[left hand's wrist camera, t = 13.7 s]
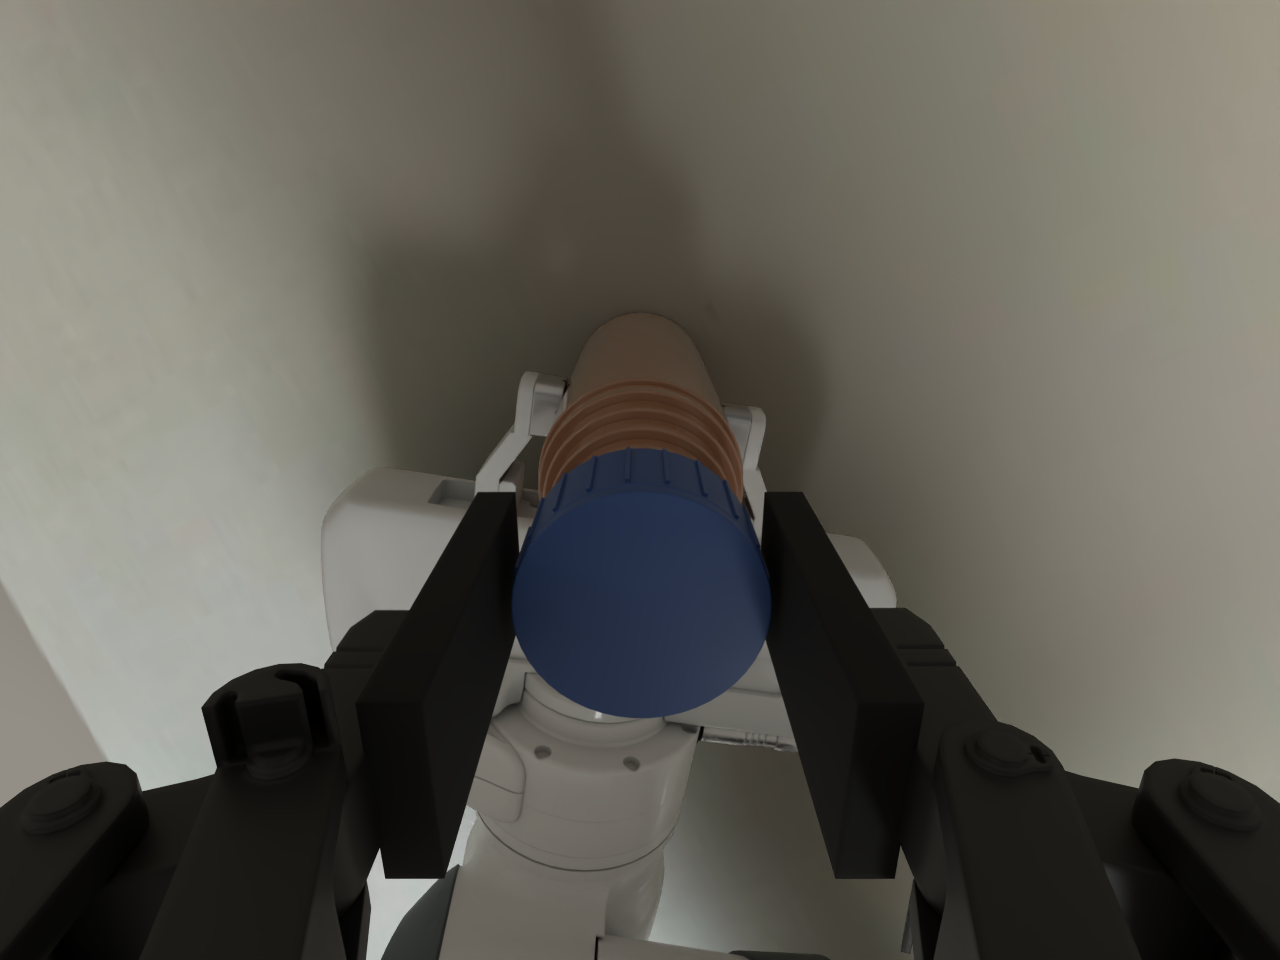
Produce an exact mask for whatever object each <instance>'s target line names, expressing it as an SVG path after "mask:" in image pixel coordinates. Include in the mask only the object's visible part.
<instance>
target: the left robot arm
mask: <svg viewBox="0 0 1280 960" xmlns="http://www.w3.org/2000/svg"><path fill="white" fill-rule="evenodd" d="M519 553H520V552H519V537H518V522H517V507H516V492H477V494H476V496H475V498H474V499H473V501H472V503H471V505H470V506H469V508H468V510H467V511H466V513H465V515H464V517H463V518H462V520H461V522H460V524H459V525H458V527H457V529H456V530H455V532H454V534H453V536H452V537H451V539H450V541H449V542H448V544H447V546H446V548H445V549H444V551H443V553H442V555H441V556H440V558H439V560H438V561H437V563H436V565H435V567H434V568H433V570H432V572H431V573H430V575H429V577H428V579H427V580H426V582H425V584H424V586H423V587H422V589H421V591H420V592H419V594H418V596H417V598H416V599H415V601H414V603H413V605H412V606H411V608H410V610H374V611H373V612H372V613H370V614H369V615H367V616H366V617H364V618H363V619H362V620H360V621H359V622H357V623H356V624H354V625H353V626H352V627H350V629H349V630H348V631H347V633H346V634H345V636H344V637H343V639H342V640H341V641H340V643H339V644H338V646H337V647H336V652H333V653H332V654H331V656H330V657H329V659H328V660H327V661H326V663H325V664H324V669H320V668H319V667H315V666H311V665H306V664H302V663H294V664H277V665H273V666H269V667H264V668H260V669H256V670H253V671H251V672H249V673H246V674H244V675H242V676H239V677H237V678H235V679H233V680H231V681H230V682H228V683H227V684H225V685H224V686H222V687H221V688H219V689H218V690H217V691H215V692H214V693H213V694H212V695H211V696H210V697H209V699H208V700H207V701H206V702H205V704H204V705H203V706H202V708H201V709H202V712H203V716H204V720H205V724H206V727H207V731H208V735H209V739H210V742H211V746H212V750H213V754H214V758H215V761H216V765H217V769H216V772H215V774H213V775H209V776H206V777H202V778H199V779H195V780H191V781H186V782H182V783H178V784H173V785H169V786H164V787H160V788H155V789H151V790H146V791H142V790H141V786H140V783H139V780H138V777H137V774H136V773H135V772H134V771H133V770H132V769H130V768H129V767H128V766H127V765H125V764H119V763H112V762H100V763H93V764H85V765H80V766H77V767H74V768H70V769H68V770H64V771H61V772H58V773H56V774H53V775H51V776H49V777H47V778H45V779H43V780H41V781H39V782H37V783H35V784H34V785H32V786H30V787H28V788H26V789H24V790H23V791H22V792H20V793H19V794H18V795H16V796H15V797H14V798H12V799H11V800H10V801H8V802H7V803H6V804H5V805H3V806H2V807H1V808H0V960H366V953H367V943H368V933H369V924H370V914H371V904H370V897H369V891H368V885H367V878H368V875H369V873H370V870H371V868H372V865H373V863H374V860H375V858H376V856H377V853H378V851H379V848H380V850H381V856H382V862H383V868H384V874H385V879H445V875H446V872H447V868H448V865H449V862H450V858H451V855H452V851H453V848H454V844H455V841H456V838H457V834H458V831H459V827H460V824H461V821H462V817H463V814H464V810H465V807H466V804H467V800H468V797H469V793H470V790H471V787H472V783H473V780H474V776H475V773H476V770H477V766H478V763H479V759H480V756H481V752H482V749H483V746H484V742H485V739H486V735H487V732H488V729H489V725H490V722H491V718H492V715H493V712H494V708H495V705H496V701H497V698H498V695H499V691H500V688H501V684H502V681H503V678H504V674H505V671H506V667H507V664H508V660H509V657H510V654H511V650H512V647H513V643H514V640H515V637H516V634H515V630H514V626H513V621H512V612H511V596H512V587H513V583H514V579H515V574H516V572H517V571H514V568H515V565H516V562H517V559H518V556H519ZM761 553H762V556H763V558H764V561H765V564H766V567H767V569H768V572H769V575H770V579H771V581H769V583H770V587H771V596H772V612H771V621H770V625H769V630H768V634H767V636H766V639H765V640H766V643H767V647H768V650H769V654H770V657H771V661H772V664H773V667H774V671H775V674H776V678H777V681H778V684H779V688H780V691H781V695H782V698H783V701H784V705H785V708H786V712H787V715H788V718H789V722H790V725H791V729H792V732H793V735H794V739H795V742H796V746H797V749H798V753H799V756H800V759H801V763H802V766H803V770H804V773H805V776H806V780H807V783H808V787H809V790H810V793H811V797H812V800H813V804H814V807H815V810H816V814H817V817H818V821H819V824H820V827H821V831H822V834H823V838H824V841H825V845H826V848H827V851H828V855H829V858H830V862H831V865H832V868H833V872H834V875H835V879H895V874H896V868H897V862H898V856H899V850H900V845H901V847H902V850H903V852H904V854H905V857H906V859H907V862H908V864H909V867H910V869H911V871H912V874H913V876H914V880H913V885H912V891H911V896H910V901H909V907H908V912H907V918H906V923H905V928H904V934H903V940H902V947H901V952H904V953H909V954H910V953H911V948H912V943H913V951H914V960H1280V803H1278V802H1277V801H1276V800H1274V799H1273V798H1272V797H1270V796H1269V795H1268V794H1266V793H1265V792H1264V791H1262V790H1261V789H1260V788H1259V787H1257V786H1256V785H1254V784H1252V783H1250V782H1248V781H1246V780H1244V779H1242V778H1240V777H1238V776H1236V775H1234V774H1232V773H1231V772H1229V771H1226V770H1223V769H1220V768H1218V767H1214V766H1211V765H1208V764H1204V763H1201V762H1196V761H1189V760H1181V759H1169V760H1162V761H1155V762H1154V763H1153V764H1152V765H1151V766H1149V767H1148V768H1147V769H1146V770H1145V771H1144V774H1143V777H1142V780H1141V783H1140V786H1139V789H1138V788H1134V787H1130V786H1125V785H1121V784H1116V783H1112V782H1107V781H1103V780H1098V779H1094V778H1089V777H1085V776H1081V775H1078V774H1074V773H1071V772H1067V771H1065V770H1064V768H1063V766H1062V764H1061V763H1060V761H1059V760H1058V759H1057V757H1056V756H1055V754H1054V753H1053V751H1052V750H1051V749H1049V748H1048V747H1047V746H1046V745H1044V744H1043V743H1042V742H1041V741H1039V740H1038V739H1037V738H1036V737H1034V736H1033V735H1030V734H1028V733H1026V732H1024V731H1022V730H1020V729H1018V728H1016V727H1014V726H1012V725H1009V724H1005V723H1001V722H998V721H997V720H996V718H995V717H994V715H993V714H992V712H991V711H990V710H989V708H988V707H987V705H986V704H985V703H984V701H983V700H982V698H981V697H980V695H979V694H978V693H977V691H976V690H975V688H974V687H973V685H972V684H971V683H970V681H969V680H968V678H967V677H966V675H965V674H964V673H963V671H962V670H961V668H960V667H959V666H956V661H955V660H954V658H953V657H952V656H951V654H950V653H949V651H948V650H947V649H944V644H943V643H942V641H941V640H940V638H939V637H938V636H937V634H936V633H935V631H934V630H933V629H932V627H931V626H930V625H929V624H928V623H926V622H925V621H923V620H922V619H921V618H919V617H918V616H916V615H915V614H913V613H912V612H911V611H909V610H908V609H906V608H869V606H868V605H867V603H866V601H865V599H864V598H863V596H862V594H861V592H860V591H859V589H858V587H857V586H856V584H855V582H854V580H853V579H852V577H851V575H850V574H849V572H848V570H847V568H846V567H845V565H844V563H843V561H842V560H841V558H840V556H839V555H838V553H837V551H836V549H835V548H834V546H833V544H832V542H831V541H830V539H829V537H828V536H827V534H826V532H825V530H824V529H823V527H822V525H821V524H820V522H819V520H818V518H817V517H816V515H815V513H814V511H813V510H812V508H811V506H810V505H809V503H808V501H807V499H806V498H805V496H804V494H803V493H802V492H764V507H763V522H762V537H761Z"/></svg>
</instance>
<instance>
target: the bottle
mask: <svg viewBox="0 0 1280 960" xmlns="http://www.w3.org/2000/svg"><path fill="white" fill-rule="evenodd" d="M626 447H631V449H633V448H650V449H658V450H662V449H663V448H664V449H667V451H669V452H673V453H677V454H680V455H683V456H685V457H688V458H690V459H693V460H695V461H696V460H699V461H701V464H702V465H704V466H706V467H707V468H708V469H710V470H711V471H712V472H714V473H715V474H717V475H718V476H719V477H720V478H721V479H722V480H723V481H724V480H725V479H726V480H727V481H728V483H729V486H730V488H731V490H732V491H733V492H734V494H735V495H736V496H737V498H738V499H739V501H740V503H742V498H743V464H742V457H741V453H740V449H739V446H738V443H737V441H736V438H735V435H734V433H733V431H732V428H731V426H730V424H729V421H728V419H727V417H726V414H725V412H724V410H723V407H722V405H721V403H720V400H719V398H718V396H717V393H716V391H715V389H714V386H713V384H712V381H711V379H710V377H709V374H708V372H707V370H706V367H705V365H704V363H703V360H702V358H701V356H700V353H699V351H698V349H697V347H696V345H695V343H694V341H693V340H692V339H691V337H690V336H689V335H688V334H687V333H686V332H685V331H684V330H683V329H682V328H681V327H680V326H679V325H677V324H676V323H674V322H673V321H671V320H669V319H667V318H665V317H662V316H659V315H655V314H651V313H630V314H625V315H621V316H618V317H616V318H614V319H611V320H610V321H608V322H606V323H605V324H603V325H602V326H601V327H599V328H598V329H597V330H596V331H595V332H594V333H593V334H592V335H591V337H590V338H589V339H588V341H587V342H586V344H585V346H584V348H583V350H582V352H581V354H580V357H579V359H578V362H577V364H576V367H575V369H574V371H573V374H572V376H571V379H570V381H569V384H568V386H567V388H566V391H565V393H564V396H563V398H562V400H561V403H560V405H559V408H558V410H557V413H556V415H555V417H554V420H553V422H552V425H551V427H550V430H549V432H548V434H547V437H546V439H545V442H544V445H543V447H542V451H541V456H540V460H539V471H538V477H539V481H538V490H539V500H541V498H542V497H543V498H545V497H546V496H547V494H548V493H549V492H550V490H551V489H552V488H553V486H554V485H555V484H556V483H557V482H558V481H559V480H560V479H561V477H562V474H564V473H566V474H567V473H569V472H570V471H571V470H573V469H574V468H575V467H577V466H579V465H581V464H582V463H584V462H586V461H588V460H590V459H591V458H592V456H594V455H596V457H597V456H600V455H602V454H606V453H610V452H613V451H617V450H625V449H626Z"/></svg>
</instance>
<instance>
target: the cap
mask: <svg viewBox="0 0 1280 960" xmlns="http://www.w3.org/2000/svg"><path fill="white" fill-rule="evenodd" d="M760 547H761V546H760V543H759V540H758V538H757V535H756V532H755V529H754V527H753V524H752V521H751V518H750V516H749V513H748V510H747V508H746V506H742V505H741V503H740V501H739V499H738V498H737V496H736V495H735V494H734V492H733V491H732V490H731V488H730V486H729V483H728V481H727V480H726V479H725V480H724V481H723V480H722V479H721V478H720V477H719V476H718V475H717V474H715V473H714V472H712V471H711V470H710V469H708V468H707V467H706V466H704V465H702V464H701V461H699V460H696V461H695V460H693V459H690V458H688V457H685V456H683V455H680V454H677V453H673V452H669V451H667V449H664V448H663V449H662V450H658V449H650V448H633V449H631V447H626V449H625V450H617V451H613V452H610V453H606V454H602V455H600V456H597V457H596V455H594V456H592V458H591V459H590V460H588V461H586V462H584V463H582V464H581V465H579V466H577V467H575V468H574V469H573V470H571V471H570V472H569V473H567V474H566V473H564V474H562V477H561V479H560V480H559V481H558V482H557V483H556V484H555V485H554V486H553V488H552V489H551V490H550V492H549V493H548V494H547V496H546V497H545V498H543V497H542V498H541V500H540V502H539V505H538V508H537V511H536V514H535V517H534V520H533V523H532V526H531V527H530V526H529V528H528V531H527V533H526V536H525V539H524V542H523V545H522V548H521V550H520V553H519V556H518V559H517V562H516V565H515V568H514V571H517V572H516V574H515V579H514V583H513V587H512V596H511V612H512V621H513V626H514V630H515V634H516V637H517V639H518V642H519V645H520V647H521V649H522V651H523V653H524V654H525V656H526V658H527V660H528V662H529V663H530V664H531V666H532V667H533V668H534V669H535V671H536V672H537V673H538V674H539V675H540V676H541V677H542V679H543V680H544V681H545V682H546V683H547V684H548V685H550V686H551V687H552V688H554V689H555V690H556V691H557V692H559V693H560V694H561V695H563V696H565V697H566V698H568V699H570V700H571V701H573V702H575V703H577V704H579V705H581V706H584V707H586V708H588V709H591V710H594V711H597V712H600V713H603V714H608V715H613V716H617V717H626V718H657V717H666V716H670V715H675V714H679V713H683V712H686V711H689V710H692V709H695V708H697V707H699V706H701V705H704V704H706V703H708V702H710V701H712V700H713V699H715V698H716V697H718V696H720V695H721V694H723V693H724V692H725V691H727V690H728V689H729V688H730V687H732V686H733V685H734V684H735V683H736V682H737V681H738V680H739V679H740V678H741V677H742V676H743V675H744V674H745V673H746V672H747V671H748V669H749V668H750V667H751V665H752V664H753V663H754V661H755V660H756V658H757V656H758V654H759V652H760V651H761V649H762V647H763V644H764V642H765V639H766V636H767V634H768V630H769V625H770V621H771V612H772V596H771V587H770V583H769V581H771V579H770V575H769V572H768V569H767V567H766V564H765V561H764V558H763V556H762V553H761V550H760Z"/></svg>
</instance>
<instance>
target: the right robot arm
mask: <svg viewBox="0 0 1280 960" xmlns="http://www.w3.org/2000/svg"><path fill="white" fill-rule="evenodd" d="M567 385H568V378H565V377H559V376H553V375H548V374H542V373H538V372H529V371H525V373H524V374H523V376H522V377H521V381H520V385H519V389H518V396H517V406H516V416H515V423H514V424H513V425H512V427H511V428H510V429H509V430H508V432H507V433H506V434H505V436H504V437H503V438H502V440H501V441H500V442H499V443H498V445H497V446H496V447H495V449H494V450H493V451H492V452H491V454H490V455H489V456H488V458H487V459H486V461H485V463H484V464H483V466H482V467H481V469H480V471H479V472H478V474H477V476H476V481H474V480H468V479H461V478H454V477H447V476H441V475H434V474H427V473H421V472H414V471H407V470H401V469H394V468H388V467H376V468H373V469H371V470H369V471H368V472H367V473H365V474H364V475H363V476H361V477H360V478H359V479H357V480H356V481H355V482H354V483H352V484H351V485H350V486H349V487H348V488H346V489H345V490H344V491H343V492H342V493H341V494H340V496H339V497H338V498H337V499H336V500H335V501H334V502H333V503H332V505H331V506H330V508H329V509H328V511H327V513H326V515H325V517H324V520H323V524H322V534H321V563H322V581H323V593H324V602H325V611H326V618H327V625H328V632H329V637H330V643H331V647H332V651H333V652H336V647H337V646H338V644H339V643H340V641H341V640H342V639H343V637H344V636H345V634H346V633H347V631H348V630H349V629H350V627H352V626H353V625H354V624H356V623H357V622H359V621H360V620H362V619H363V618H364V617H366V616H367V615H369V614H370V613H372V612H373V611H374V610H410V608H411V606H412V605H413V603H414V601H415V599H416V598H417V596H418V594H419V592H420V591H421V589H422V587H423V586H424V584H425V582H426V580H427V579H428V577H429V575H430V573H431V572H432V570H433V568H434V567H435V565H436V563H437V561H438V560H439V558H440V556H441V555H442V553H443V551H444V549H445V548H446V546H447V544H448V542H449V541H450V539H451V537H452V536H453V534H454V532H455V530H456V529H457V527H458V525H459V524H460V522H461V520H462V518H463V517H464V515H465V513H466V511H467V510H468V508H469V506H470V505H471V503H472V501H473V499H474V498H475V496H476V494H477V492H516V507H517V522H518V537H519V552H520V550H521V548H522V545H523V542H524V539H525V536H526V533H527V531H528V528H529V526H530V527H531V526H532V523H533V520H534V517H535V514H536V511H537V508H538V505H539V502H540V500H539V490H535V489H528V488H523V485H524V474H525V465H524V463H523V462H517V461H514V460H515V459H516V457H517V456H518V455H519V453H520V452H521V451H522V450H523V448H524V447H525V446H526V444H527V443H528V442H529V441H530V439H531V438H532V437H533V435H536V436H543V437H547V434H548V432H549V430H550V427H551V425H552V422H553V420H554V417H555V415H556V413H557V410H558V408H559V405H560V403H561V400H562V398H563V396H564V393H565V391H566V388H567ZM720 403H721V405H722V407H723V410H724V412H725V414H726V417H727V419H728V421H729V424H730V426H731V428H732V431H733V433H734V435H735V438H736V441H737V443H738V446H739V449H740V453H741V457H742V464H743V487H744V490H745V493H746V498H744V496H743V498H742V503H741V505H742V506H746V508H747V510H748V513H749V516H750V518H751V521H752V524H753V527H754V529H755V532H756V535H757V538H758V540H759V543H760V546H761V537H762V522H763V507H764V492H767V490H766V487H765V484H764V482H763V479H762V476H761V473H760V470H759V468H758V466H757V464H758V459H759V455H760V451H761V446H762V442H763V437H764V433H765V429H766V416H765V414H764V412H763V411H762V409H761V408H758V407H751V406H745V405H738V404H732V403H725V402H720ZM826 534H827V536H828V537H829V539H830V541H831V542H832V544H833V546H834V548H835V549H836V551H837V553H838V555H839V556H840V558H841V560H842V561H843V563H844V565H845V567H846V568H847V570H848V572H849V574H850V575H851V577H852V579H853V580H854V582H855V584H856V586H857V587H858V589H859V591H860V592H861V594H862V596H863V598H864V599H865V601H866V603H867V605H868V606H869V608H896V604H897V599H896V593H895V589H894V587H893V585H892V582H891V580H890V578H889V576H888V575H887V573H886V571H885V569H884V567H883V566H882V564H881V563H880V561H879V560H878V559H877V557H876V556H875V555H874V554H873V552H872V551H871V550H870V548H869V547H868V546H867V545H866V544H865V543H864V542H863V541H862V540H860V539H858V538H855V537H851V536H845V535H838V534H831V533H826ZM760 550H761V547H760ZM698 741H705V742H713V743H721V744H728V745H740V746H742V745H743V746H749V745H750V746H755V745H756V746H763V747H771V748H772V749H774V750H777V751H782V752H798V749H797V746H796V742H795V739H794V735H793V732H792V729H791V725H790V722H789V718H788V715H787V712H786V708H785V705H784V701H783V698H782V695H781V691H780V688H779V684H778V681H777V678H776V674H775V671H774V667H773V664H772V661H771V657H770V654H769V650H768V647H767V643H766V640H765V642H764V644H763V647H762V649H761V651H760V652H759V654H758V656H757V658H756V660H755V661H754V663H753V664H752V665H751V667H750V668H749V669H748V671H747V672H746V673H745V674H744V675H743V676H742V677H741V678H740V679H739V680H738V681H737V682H736V683H735V684H734V685H733V686H732V687H730V688H729V689H728V690H727V691H725V692H724V693H723V694H721V695H720V696H718V697H716V698H715V699H713V700H712V701H710V702H708V703H706V704H704V705H701V706H699V707H697V708H695V709H692V710H689V711H686V712H683V713H679V714H675V715H670V716H666V717H657V718H626V717H617V716H613V715H608V714H603V713H600V712H597V711H594V710H591V709H588V708H586V707H584V706H581V705H579V704H577V703H575V702H573V701H571V700H570V699H568V698H566V697H565V696H563V695H561V694H560V693H559V692H557V691H556V690H555V689H554V688H552V687H551V686H550V685H548V684H547V683H546V682H545V681H544V680H543V679H542V677H541V676H540V675H539V674H538V673H537V672H536V671H535V669H534V668H533V667H532V666H531V664H530V663H529V662H528V660H527V658H526V656H525V654H524V653H523V651H522V649H521V647H520V645H519V642H518V639H517V637H515V640H514V643H513V647H512V650H511V654H510V657H509V660H508V664H507V667H506V671H505V674H504V678H503V681H502V684H501V688H500V691H499V695H498V698H497V701H496V705H495V708H494V712H493V715H492V718H491V722H490V725H489V729H488V732H487V735H486V739H485V742H484V746H483V749H482V752H481V756H480V759H479V763H478V766H477V770H476V773H475V776H474V780H473V783H472V787H471V790H470V793H469V797H468V800H467V804H466V805H467V806H469V807H471V808H473V809H474V810H475V812H476V817H477V819H476V821H475V823H474V825H473V827H472V829H471V832H470V835H469V837H468V840H467V845H466V849H465V854H464V859H463V866H460V865H459V864H458V865H456V866H455V867H453V868H451V869H450V870H449V871H448V872H446V875H445V879H438V880H437V881H436V882H435V883H434V884H433V885H432V886H431V888H430V889H429V890H428V891H427V892H426V893H425V894H424V895H423V896H422V897H421V898H420V899H419V900H418V902H417V903H416V904H415V905H414V906H413V907H412V908H411V909H410V910H409V911H408V912H407V914H406V915H405V916H404V917H403V919H402V920H401V922H400V924H399V925H398V927H397V929H396V931H395V932H394V934H393V936H392V938H391V940H390V942H389V944H388V946H387V948H386V950H385V952H384V954H383V956H382V959H381V960H830V959H828V958H827V957H825V956H822V955H818V954H800V953H780V952H759V951H732V952H730V953H722V952H716V951H709V950H703V949H696V948H690V947H683V946H677V945H671V944H664V943H658V942H651V941H648V939H649V936H650V933H651V929H652V926H653V923H654V919H655V915H656V912H657V908H658V904H659V900H660V896H661V892H662V886H663V879H664V855H663V849H664V847H665V846H666V844H667V842H668V841H669V839H670V838H671V836H672V834H673V832H674V829H675V827H676V825H677V822H678V819H679V815H680V811H681V806H682V803H683V798H684V794H685V790H686V786H687V781H688V777H689V773H690V769H691V765H692V761H693V757H694V752H695V747H696V743H698Z"/></svg>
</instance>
